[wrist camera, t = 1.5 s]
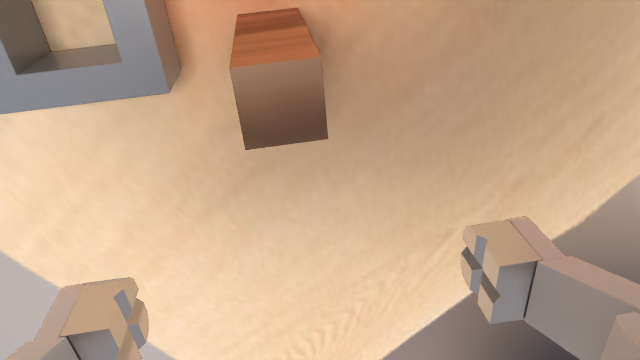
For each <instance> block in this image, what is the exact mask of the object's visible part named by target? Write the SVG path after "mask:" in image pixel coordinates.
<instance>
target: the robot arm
mask: <svg viewBox="0 0 640 360" xmlns="http://www.w3.org/2000/svg"><path fill="white" fill-rule="evenodd" d="M463 240H464V242H465V243H466V245H467V247H466V248H465V249H464V251H463V252H462V253H461V268H462V274H463V277H464V279H465V282H466V284H467V286H468V287H469V289H470V290H471V291H473V292H475V293H477V294H478V295H479V296H478V305H479V306H480V308H481V310H482V311H483V313H484V315H485V316H486V318H487V320H488V321H489V323H490V324H493V323H500V322H507V321H514V320H522V319H525V322H527V323H528V324H530V325H531V326H533V327H534V328H536V329H537V330H538V331H540V332H541V333H543V334H544V335H546V336H547V337H549V338H550V339H552V340H553V341H554V342H556V343H557V344H559V345H560V346H562V347H563V348H564V349H566V350H567V351H569V352H570V353H572V354H573V355H575V356H576V357H577V358H579V359H580V360H640V285H639V284H637V283H634V282H632V281H630V280H627V279H624V278H622V277H620V276H618V275H615V274H613V273H611V272H608V271H606V270H603V269H601V268H599V267H596V266H594V265H592V264H589V263H587V262H584V261H582V260H580V259H577V258H575V257H573V256H569V257H565V256H564V255H563V254H562V253H561V252H560V251H559V249H558V248H557V247H556V246H555V245H554V244H553V243H552V242H551V241H550V240H549V239H548V238H547V237H546V236H545V234H544V233H543V232H542V231H541V230H540V229H539V228H538V227H537V226H536V225H535V224H534V223H533V222H532V221H531V220H530V219H529V218H528V217H525V216H523V217H517V218H511V219H506V220H502V221H496V222H490V223H483V224H477V225H471V226H466V228H465V230H464V234H463ZM137 292H138V287H137V285H136V283H135V281H134V279H133V278H130V277H127V278H119V279H112V280H104V281H96V282H89V283H83V284H76V285H68V286H65V287H63V288H62V289H61V290H60V291H59V293H58V295H57V297H56V299H55V301H54V303H53V305H52V306H51V308H50V310H49V312H48V314H47V316H46V318H45V320H44V322H43V324H42V326H41V328H40V329H39V331H38V334H37V335H36V337H35V339H34V341H33V342H29V343H25V344H24V345H23V346H22V347H20V348H19V349H18V350H17V351H15V352H14V353H13V354H12V355H10V356H9V357H8V358H7V359H5V360H142V357H141V355H140V352H139V349H140V348H141V347H142V346H143V345H144V344H145V343H146V341H147V336H148V331H149V319H148V313H147V309H146V307H145V304H144V302H142V301H140V300H139V299H137V298H136V296H137Z"/></svg>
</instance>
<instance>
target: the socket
mask: <svg viewBox="0 0 640 360" xmlns="http://www.w3.org/2000/svg"><path fill="white" fill-rule="evenodd" d="M102 1H103V4H104V7H105V10H106V13H107V16H108V19H109V22H110V26H111V29H112V32H113V35H114V38H115V41H116V44H112V45H104V46H95V47H87V48H78V49H70V50H61V51H53V52H51V50H50V47H49V45H48V42H47V40H46V37H45V35H44V32H43V30H42V27H41V25H40V22H39V20H38V17H37V15H36V12H35V10H34V7H33V5H32V3H31V0H0V114H7V113H15V112H23V111H31V110H39V109H47V108H55V107H63V106H71V105H79V104H86V103H94V102H102V101H110V100H118V99H126V98H134V97H142V96H150V95H158V94H166V93H170V91H171V89H172V87H173V85H174V82H175V80H176V78H177V76H178V74H179V72H180V69H181V66H180V62H179V58H178V54H177V50H176V46H175V42H174V38H173V34H172V30H171V26H170V23H169V19H168V15H167V11H166V7H165V3H164V0H102Z"/></svg>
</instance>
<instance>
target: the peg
mask: <svg viewBox="0 0 640 360" xmlns="http://www.w3.org/2000/svg"><path fill="white" fill-rule="evenodd" d="M230 73H231V78H232V83H233V88H234V94H235V99H236V104H237V109H238V114H239V119H240V124H241V129H242V134H243V140H244V145H245V150H250V149H257V148H265V147H272V146H279V145H287V144H294V143H302V142H309V141H316V140H324V139H328V132H327V121H326V109H325V97H324V85H323V74H322V62H321V56H320V54H319V51H318V49H317V47H316V45H315V43H314V41H313V39H312V37H311V35H310V33H309V31H308V28H307V26H306V24H305V22H304V20H303V18H302V16H301V14H300V12H299V10H298V8H292V9H283V10H274V11H266V12H257V13H248V14H240V15H238V16H237V22H236V29H235V35H234V42H233V49H232V55H231V62H230Z"/></svg>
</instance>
